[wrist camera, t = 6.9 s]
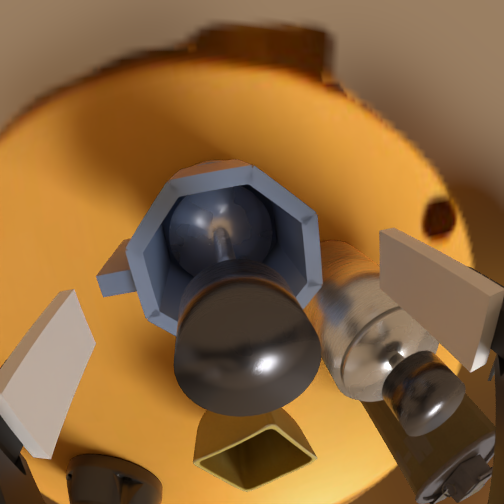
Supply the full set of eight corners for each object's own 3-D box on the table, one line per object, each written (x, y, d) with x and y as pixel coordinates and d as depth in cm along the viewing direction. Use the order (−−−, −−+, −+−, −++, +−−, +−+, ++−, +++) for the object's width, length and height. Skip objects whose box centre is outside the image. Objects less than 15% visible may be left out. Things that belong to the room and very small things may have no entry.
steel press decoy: (291, 326, 31) (363, 475, 14) (282, 249, 28) (380, 383, 12) (381, 302, 32) (489, 412, 15) (382, 229, 29) (525, 315, 12)
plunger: (182, 286, 22) (168, 452, 9) (160, 192, 20) (89, 278, 7) (275, 268, 23) (358, 412, 10) (262, 173, 20) (363, 226, 7)
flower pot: (256, 359, 31) (273, 424, 23) (297, 401, 34) (319, 460, 26) (189, 398, 32) (190, 463, 24) (236, 434, 35) (246, 493, 27)
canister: (365, 341, 33) (467, 478, 14) (433, 333, 35) (535, 434, 16) (342, 410, 36) (407, 536, 18) (407, 397, 38) (479, 498, 19)
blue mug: (151, 279, 27) (124, 365, 16) (126, 177, 24) (69, 204, 13) (277, 255, 28) (325, 328, 17) (262, 151, 25) (310, 156, 14)
